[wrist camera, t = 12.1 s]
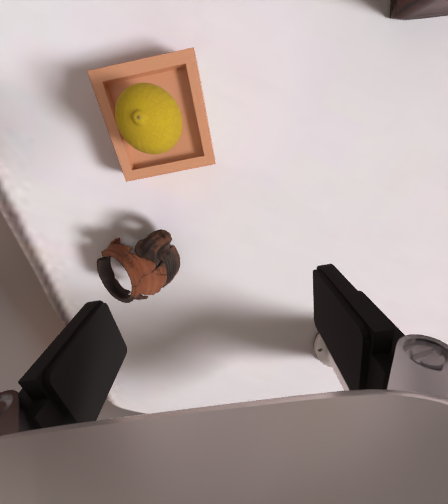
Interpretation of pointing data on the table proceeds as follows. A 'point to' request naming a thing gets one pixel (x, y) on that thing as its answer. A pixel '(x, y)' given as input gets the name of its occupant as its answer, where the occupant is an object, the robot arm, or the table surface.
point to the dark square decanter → (418, 9)
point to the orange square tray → (183, 92)
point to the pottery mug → (140, 266)
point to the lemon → (148, 118)
